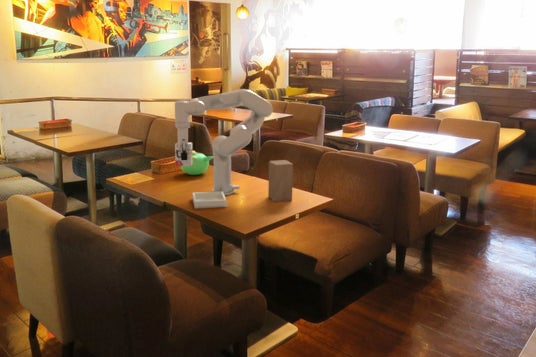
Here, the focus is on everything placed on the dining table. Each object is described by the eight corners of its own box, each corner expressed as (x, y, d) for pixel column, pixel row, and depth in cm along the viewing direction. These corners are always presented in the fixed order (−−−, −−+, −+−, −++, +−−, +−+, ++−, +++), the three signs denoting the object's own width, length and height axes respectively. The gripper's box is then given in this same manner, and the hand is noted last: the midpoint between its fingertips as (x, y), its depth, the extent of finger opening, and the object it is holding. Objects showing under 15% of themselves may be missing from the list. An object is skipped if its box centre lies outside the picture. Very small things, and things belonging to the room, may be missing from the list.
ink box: (175, 166, 265) (174, 143, 262) (176, 163, 269) (175, 142, 266) (191, 166, 265) (190, 144, 261) (193, 163, 269) (192, 142, 266)
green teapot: (200, 169, 327) (200, 147, 324) (214, 175, 315) (214, 152, 311) (176, 173, 316) (175, 151, 313) (189, 179, 304) (189, 155, 300)
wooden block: (268, 196, 272) (268, 160, 267) (285, 195, 275) (286, 159, 270) (274, 202, 263) (275, 164, 258) (292, 200, 266) (293, 163, 261)
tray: (222, 197, 269) (222, 191, 268) (226, 206, 254) (226, 200, 253) (192, 199, 265) (192, 192, 265) (194, 208, 250) (194, 201, 249)
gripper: (174, 122, 269) (176, 155, 273) (176, 127, 253) (177, 162, 257) (189, 122, 270) (190, 155, 275) (191, 127, 254) (192, 162, 259)
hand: (184, 158), depth 266 cm, fingers closed on ink box, 5 cm apart
